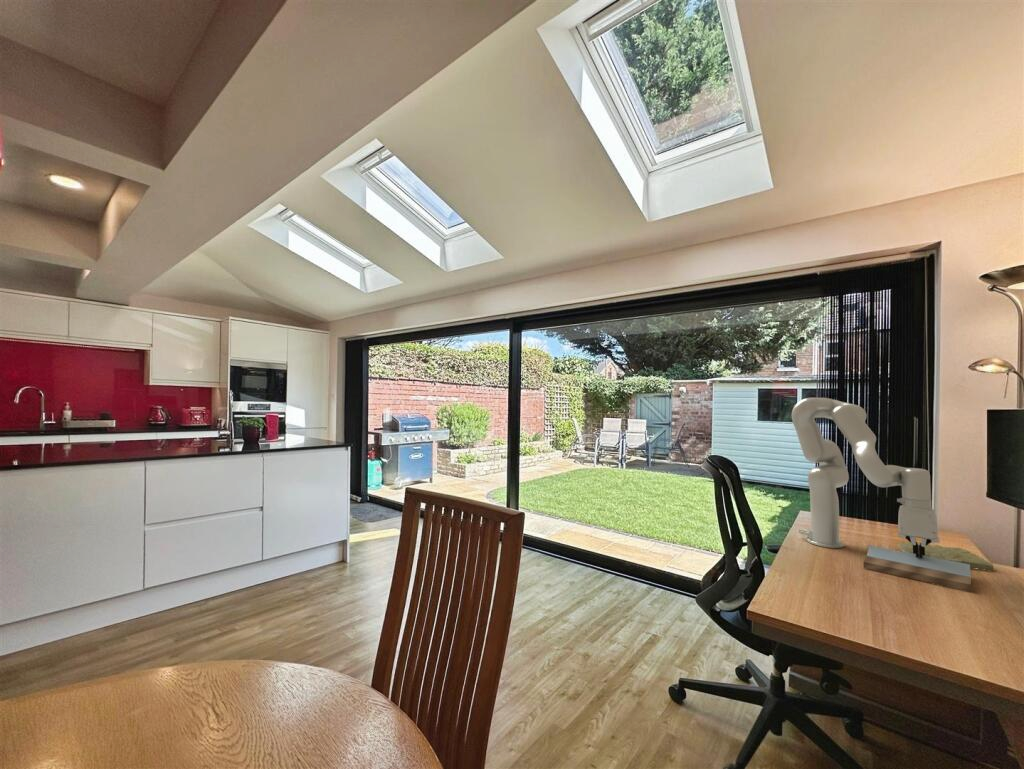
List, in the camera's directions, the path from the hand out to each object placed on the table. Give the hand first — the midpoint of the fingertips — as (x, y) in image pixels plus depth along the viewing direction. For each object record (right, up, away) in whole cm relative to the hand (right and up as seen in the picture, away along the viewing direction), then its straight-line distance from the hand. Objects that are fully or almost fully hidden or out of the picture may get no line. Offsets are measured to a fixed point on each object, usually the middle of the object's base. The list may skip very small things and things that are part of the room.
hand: (919, 556), depth 153 cm
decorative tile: (+18, -5, +10) cm, 21 cm away
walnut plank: (-8, -4, -7) cm, 11 cm away
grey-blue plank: (-2, -3, -1) cm, 3 cm away
